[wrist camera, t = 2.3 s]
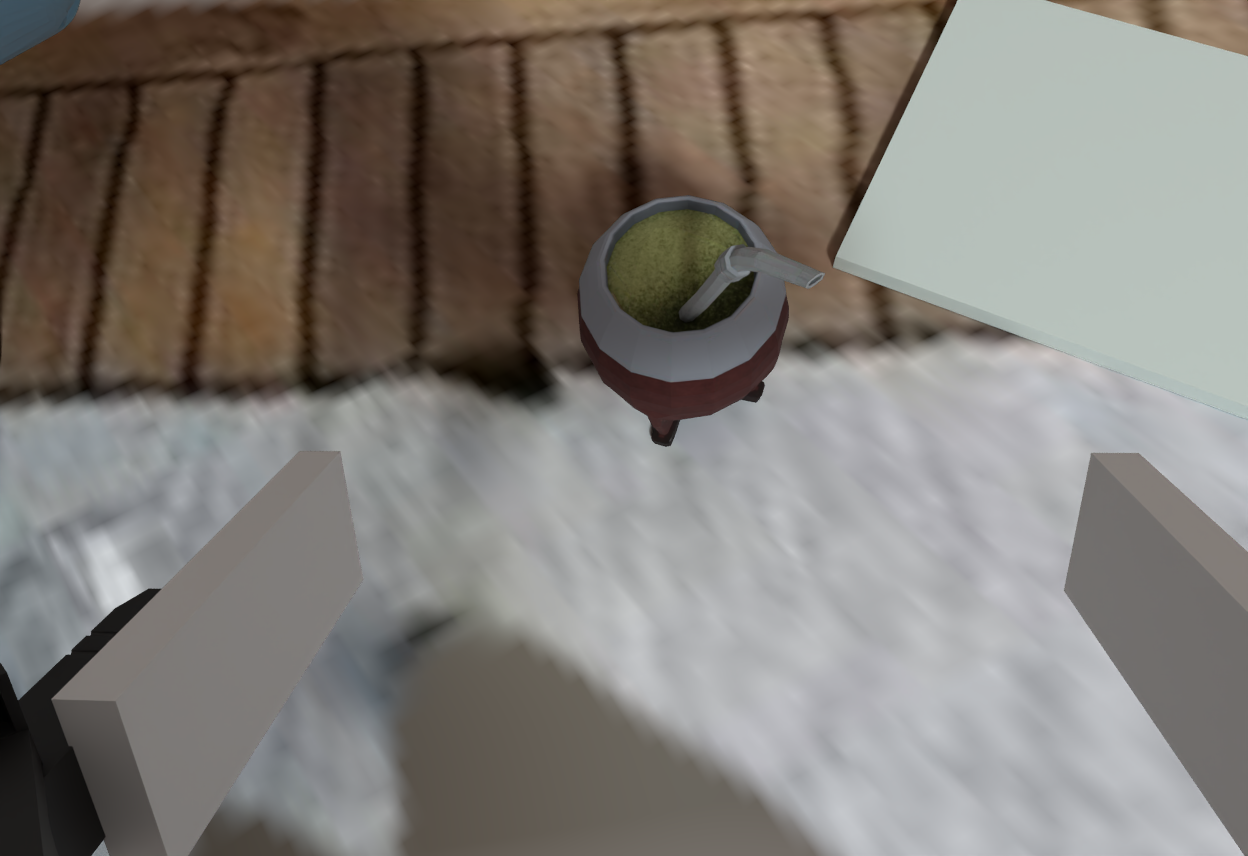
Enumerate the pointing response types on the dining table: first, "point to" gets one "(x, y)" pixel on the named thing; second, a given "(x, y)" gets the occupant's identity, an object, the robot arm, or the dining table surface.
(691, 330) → the mate gourd
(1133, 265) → the sage tile
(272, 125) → the dining table surface
